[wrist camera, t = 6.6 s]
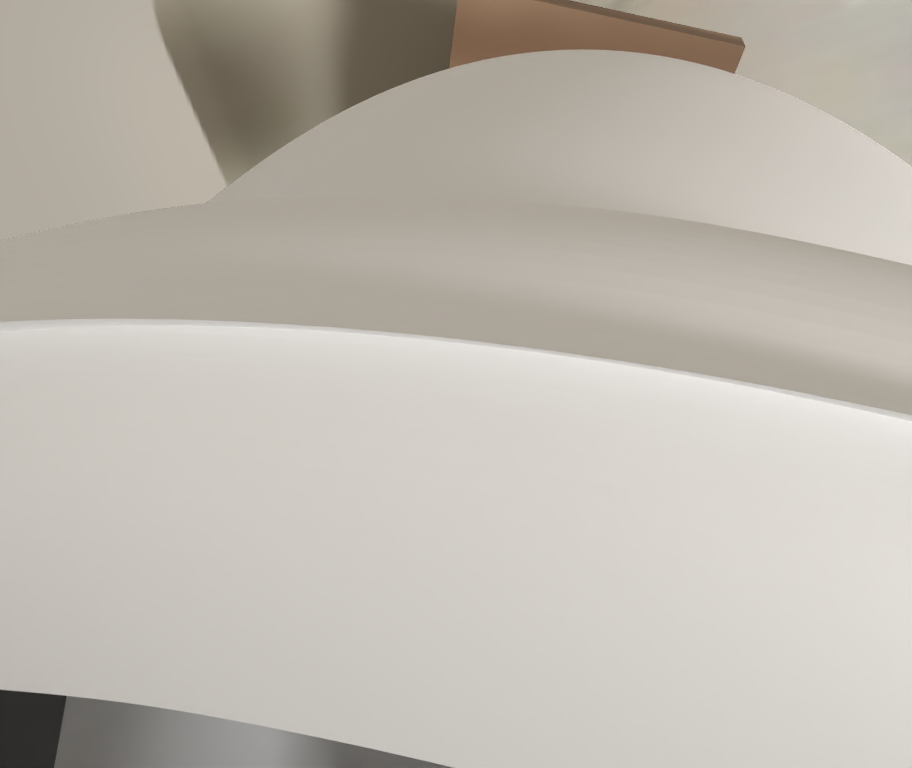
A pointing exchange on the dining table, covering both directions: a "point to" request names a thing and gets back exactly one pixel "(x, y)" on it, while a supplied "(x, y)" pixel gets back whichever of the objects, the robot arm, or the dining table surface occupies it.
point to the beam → (579, 33)
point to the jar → (477, 440)
